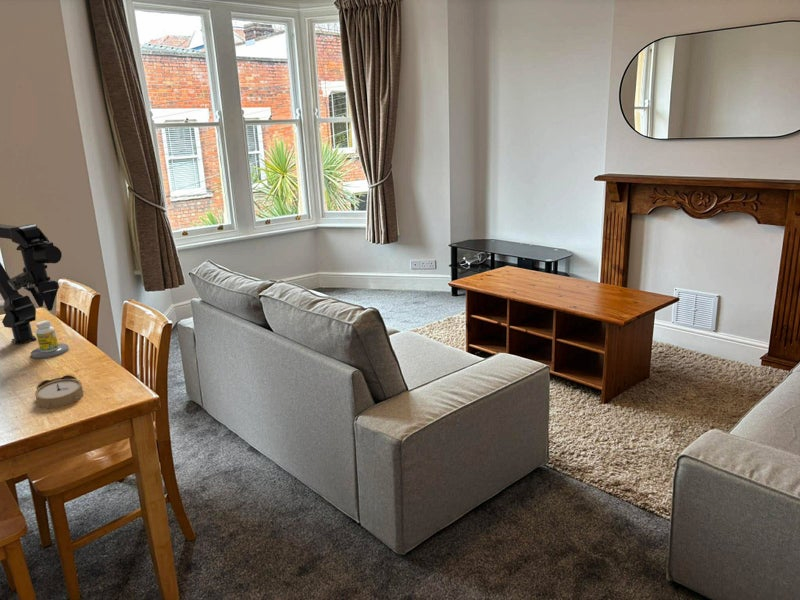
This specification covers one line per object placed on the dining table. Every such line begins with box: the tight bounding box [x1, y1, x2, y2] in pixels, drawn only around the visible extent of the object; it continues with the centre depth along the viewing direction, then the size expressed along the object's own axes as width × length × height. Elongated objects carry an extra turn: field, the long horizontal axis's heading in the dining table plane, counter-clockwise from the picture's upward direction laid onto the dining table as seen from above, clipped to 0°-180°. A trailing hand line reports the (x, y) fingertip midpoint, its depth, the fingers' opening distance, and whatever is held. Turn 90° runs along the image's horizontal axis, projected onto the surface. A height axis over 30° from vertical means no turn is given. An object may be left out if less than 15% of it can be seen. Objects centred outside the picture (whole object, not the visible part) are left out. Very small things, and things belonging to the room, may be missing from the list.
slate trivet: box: [30, 343, 70, 360], centre depth 201 cm, size 11×11×1 cm
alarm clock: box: [34, 374, 84, 409], centre depth 167 cm, size 11×5×15 cm
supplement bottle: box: [35, 320, 59, 352], centre depth 200 cm, size 5×5×10 cm
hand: (45, 308), depth 204 cm, fingers open, 9 cm apart
